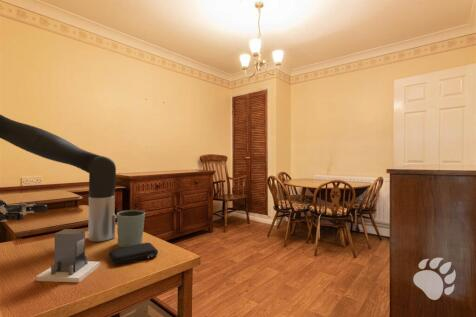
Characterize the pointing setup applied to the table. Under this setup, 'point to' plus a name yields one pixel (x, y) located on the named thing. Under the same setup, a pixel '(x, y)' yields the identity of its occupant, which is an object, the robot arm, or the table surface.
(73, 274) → the white peg board
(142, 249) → the carrying case or bag
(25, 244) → the table surface
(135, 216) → the green cup
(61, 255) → the block
